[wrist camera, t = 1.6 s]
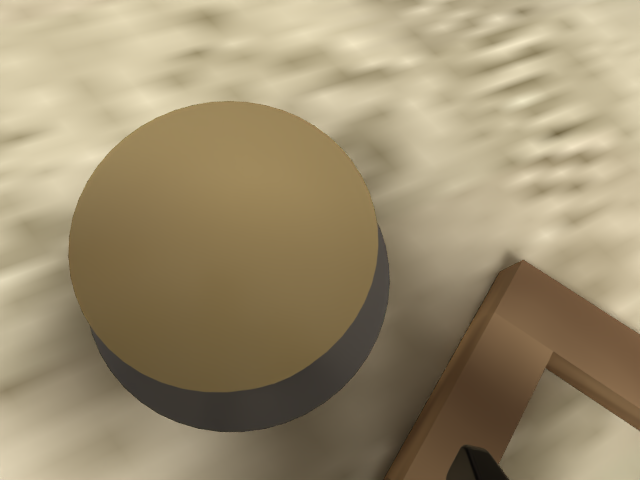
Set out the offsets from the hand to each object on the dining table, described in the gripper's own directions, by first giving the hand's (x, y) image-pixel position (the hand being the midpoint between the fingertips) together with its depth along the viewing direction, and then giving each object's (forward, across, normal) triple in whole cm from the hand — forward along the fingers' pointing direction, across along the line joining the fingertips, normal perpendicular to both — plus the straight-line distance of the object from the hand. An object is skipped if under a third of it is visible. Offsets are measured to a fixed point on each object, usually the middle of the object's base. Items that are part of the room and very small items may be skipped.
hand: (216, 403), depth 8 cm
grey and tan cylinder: (+8, 0, +5) cm, 10 cm away
